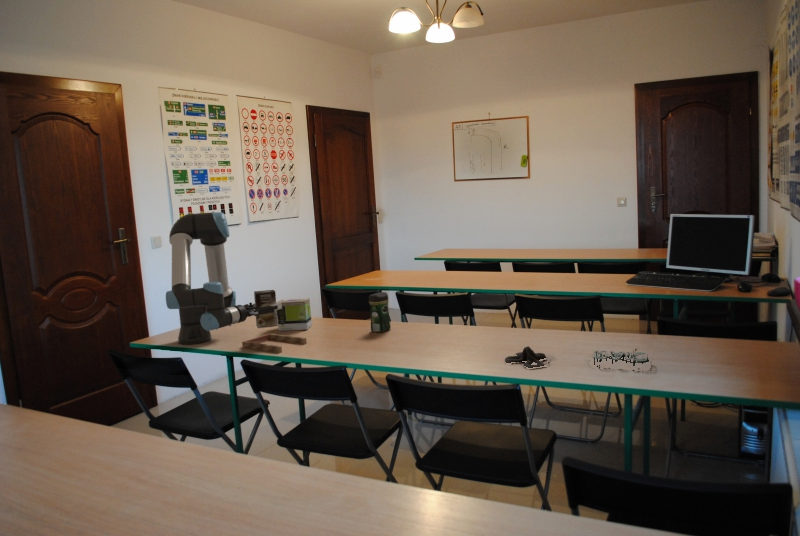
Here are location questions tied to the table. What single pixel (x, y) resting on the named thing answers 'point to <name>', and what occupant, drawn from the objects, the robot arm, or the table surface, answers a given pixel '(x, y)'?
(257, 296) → the coffee box
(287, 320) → the tea box
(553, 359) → the table surface
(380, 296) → the coffee jar
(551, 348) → the table surface
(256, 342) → the brown wooden flat frame
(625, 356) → the neon sign
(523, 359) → the cloth
